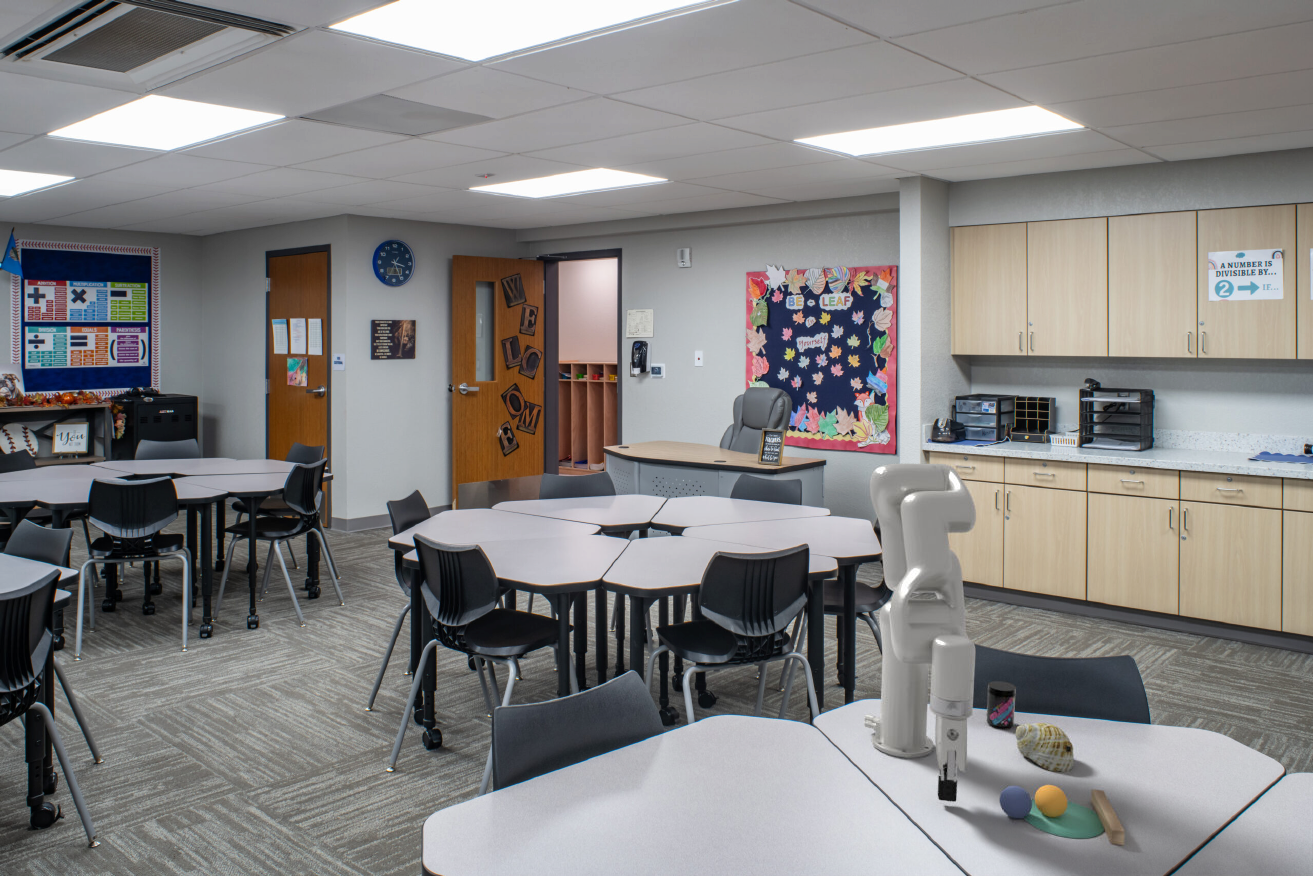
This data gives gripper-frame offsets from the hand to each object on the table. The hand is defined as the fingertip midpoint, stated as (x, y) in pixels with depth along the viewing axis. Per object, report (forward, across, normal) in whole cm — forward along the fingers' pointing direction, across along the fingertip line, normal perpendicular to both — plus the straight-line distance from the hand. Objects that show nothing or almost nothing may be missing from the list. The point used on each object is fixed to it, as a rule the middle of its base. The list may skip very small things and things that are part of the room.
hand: (946, 798), depth 175 cm
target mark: (+1, 0, -20) cm, 20 cm away
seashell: (+2, +24, -21) cm, 32 cm away
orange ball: (-1, 0, -18) cm, 18 cm away
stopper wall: (+1, 0, -28) cm, 28 cm away
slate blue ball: (-1, -1, -12) cm, 12 cm away
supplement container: (+2, +41, -15) cm, 44 cm away
